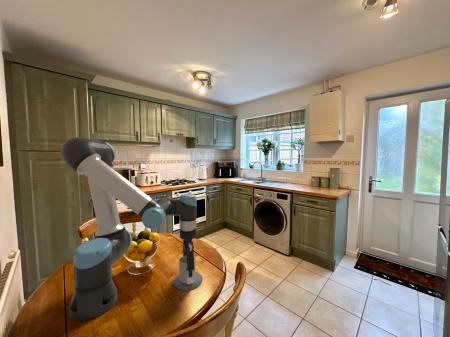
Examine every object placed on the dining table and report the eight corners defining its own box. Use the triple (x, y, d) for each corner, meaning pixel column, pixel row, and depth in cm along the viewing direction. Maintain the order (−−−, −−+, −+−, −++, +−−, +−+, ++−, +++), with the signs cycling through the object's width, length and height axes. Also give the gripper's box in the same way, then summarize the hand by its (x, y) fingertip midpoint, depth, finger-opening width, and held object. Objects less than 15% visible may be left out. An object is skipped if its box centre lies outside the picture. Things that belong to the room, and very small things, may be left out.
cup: (177, 283, 82) (177, 263, 82) (182, 270, 92) (182, 252, 92) (194, 283, 82) (194, 263, 82) (197, 270, 92) (197, 252, 92)
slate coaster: (175, 293, 79) (175, 292, 79) (172, 275, 91) (172, 274, 91) (205, 286, 83) (205, 285, 83) (198, 270, 95) (198, 269, 95)
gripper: (202, 236, 77) (201, 290, 78) (191, 220, 98) (191, 262, 99) (183, 239, 74) (183, 294, 75) (176, 221, 95) (176, 265, 96)
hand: (187, 276), depth 87 cm, fingers closed on cup, 10 cm apart
